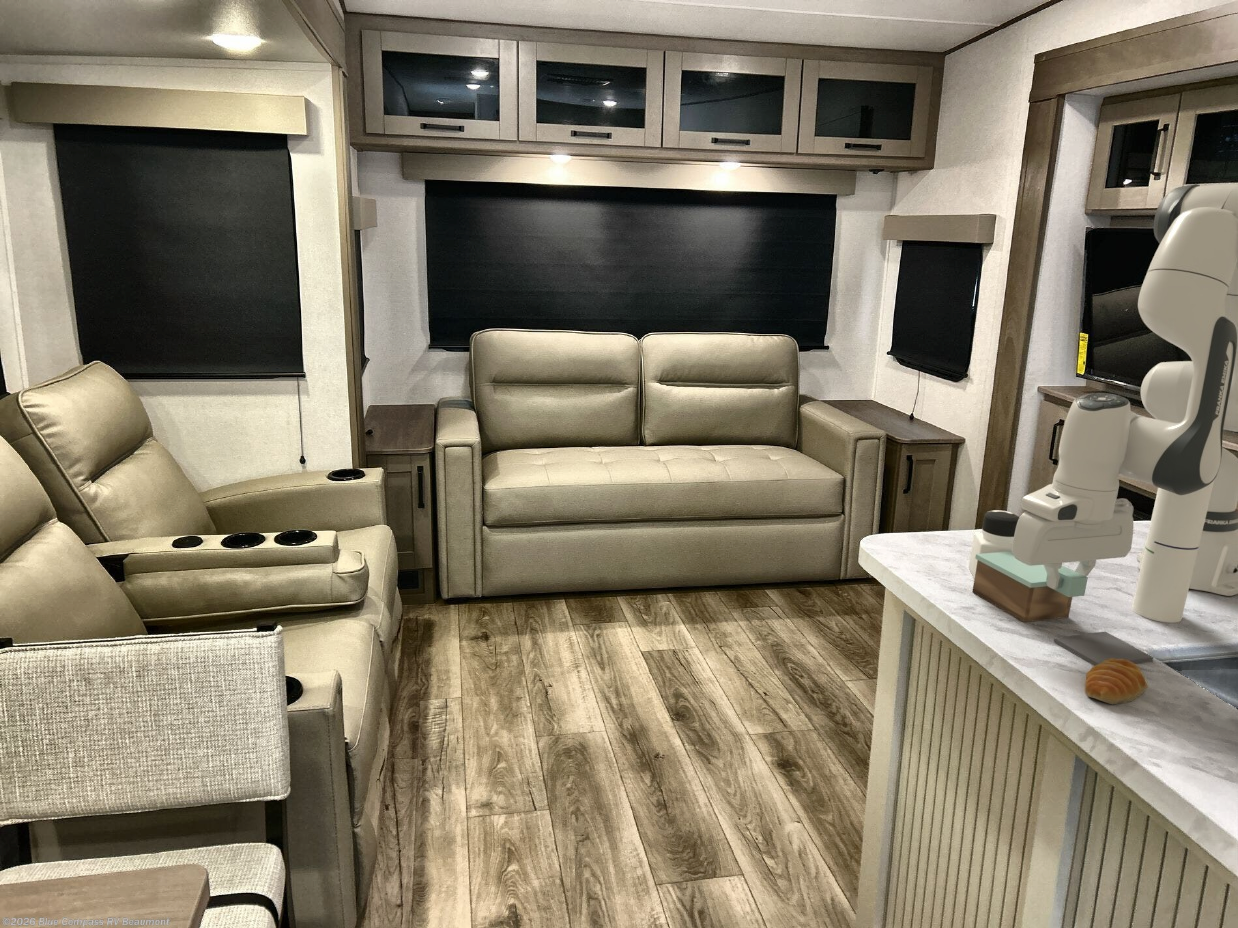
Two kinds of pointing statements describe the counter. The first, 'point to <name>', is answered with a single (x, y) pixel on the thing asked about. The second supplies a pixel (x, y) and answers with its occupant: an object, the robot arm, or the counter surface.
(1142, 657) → the mat
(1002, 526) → the medicine bottle
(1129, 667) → the pastry
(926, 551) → the counter surface
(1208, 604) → the counter surface
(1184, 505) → the cylindrical container
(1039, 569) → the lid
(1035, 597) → the wooden box
